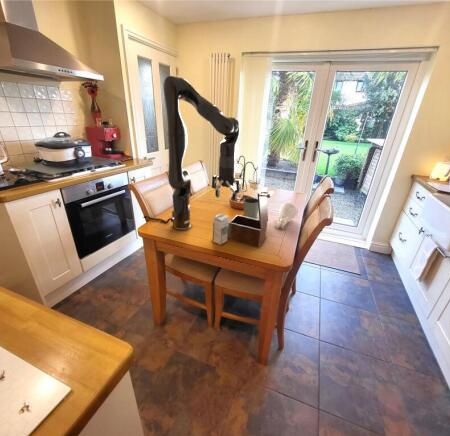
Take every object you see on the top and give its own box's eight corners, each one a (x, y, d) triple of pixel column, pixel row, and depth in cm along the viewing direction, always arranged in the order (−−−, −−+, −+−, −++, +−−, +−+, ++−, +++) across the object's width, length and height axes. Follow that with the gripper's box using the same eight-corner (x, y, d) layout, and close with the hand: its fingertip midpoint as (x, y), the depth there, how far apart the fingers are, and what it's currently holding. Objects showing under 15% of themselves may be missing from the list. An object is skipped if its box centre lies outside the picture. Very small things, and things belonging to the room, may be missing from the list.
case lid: (257, 193, 108) (268, 193, 106) (264, 187, 118) (275, 187, 115) (259, 229, 115) (269, 230, 112) (266, 220, 124) (276, 221, 122)
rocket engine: (281, 215, 132) (290, 200, 144) (266, 222, 140) (276, 207, 152) (293, 231, 134) (301, 214, 146) (277, 237, 142) (286, 220, 154)
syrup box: (219, 237, 127) (220, 213, 121) (228, 241, 123) (229, 216, 117) (212, 241, 123) (212, 216, 117) (220, 245, 119) (221, 219, 113)
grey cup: (257, 221, 146) (258, 204, 141) (241, 219, 148) (242, 202, 143) (258, 215, 155) (260, 198, 150) (243, 213, 157) (244, 196, 152)
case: (227, 238, 126) (228, 222, 122) (236, 230, 135) (237, 214, 131) (258, 247, 119) (260, 230, 115) (265, 237, 129) (267, 221, 124)
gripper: (244, 165, 106) (242, 199, 113) (217, 161, 112) (216, 193, 119) (238, 169, 100) (236, 204, 107) (209, 164, 106) (209, 198, 113)
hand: (225, 198), depth 113 cm, fingers open, 8 cm apart
